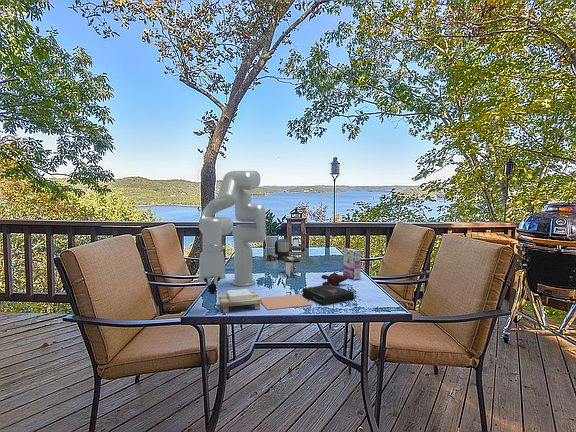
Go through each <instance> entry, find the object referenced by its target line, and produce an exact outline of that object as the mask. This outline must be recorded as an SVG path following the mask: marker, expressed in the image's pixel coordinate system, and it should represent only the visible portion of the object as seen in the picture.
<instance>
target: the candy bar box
mask: <svg viewBox="0 0 576 432" xmlns="http://www.w3.org/2000/svg"><path fill="white" fill-rule="evenodd" d="M342 260H343V263H342V264H343V266H342V267H343V268H342V270H343V271H342V273H343V275H342V276H347V277H349V279H350V280H353V281H356V280H357V281H358V280H361V271H362V269H361V268H362V265H361V264H362V251H361V250H359V249H356V248H355V249H354V248H349V247H348V248H343V259H342Z"/></svg>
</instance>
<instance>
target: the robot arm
mask: <svg viewBox="0 0 576 432" xmlns="http://www.w3.org/2000/svg"><path fill="white" fill-rule="evenodd" d="M261 179H262V178H261V174H260V173H259V172H258V171H257V170H232V171H228V172H226V173H225V174H224V176H223V179H222V181H221V185H220V188H219V191H218V195H217V197H215V198H214V199H212V200H210V202H209V203H207V205H206V206H204V208H203V210H202V212H201V215H200V218H199V224H198V230H199V231H200V233H201V234H202V251H201V252H200V253H199V260H198V261H199V262H198V263H199V265H198V273H199V275H198V280H199V281H202V282H205V283H206V284H207V288H208V289H207V292H208V293H209V294H210V296H211V295H215V293H216V292H217V285H218V283H219V282H220V281H221V280H224V279H226V263H225V262H226V261H225V255H224V251H223V250H225V249H226V245H223V244H222V243H223V242H222V236H228V235H230V234H231V233H232V238H233V246H234V254H233V255H234V257H233V258H234V263H233V264H234V265H233V266H234V269H233V270H234V279H233V280H231V284H232V285H233V286H237V287H247V286H254V285H255V284H256V280H255V279H253V248H252V246H251V245H250V243H256V244H260V243H261V244H262V243H263V242H264V241H265V240H266V236H267V233H266V232H267V231H266V230H267V229H266V227H267V226H266V225H267V224H266V223H267V222H266V216H267V215H266V209H265V207H264V205H262V204H260V203H252V195H251V192H250V191H251V190H254V189H257V188H258V187H259V186H260V185H261ZM233 206H234V215H235V216H234V217H235V219H236V221H237V222H242V223H243V224H236V225H235V226H234V223H233V220H232V219H230V218H229V217H225V216H222V217H219V216H214V215H216V214H217V213H219V212H222V211H224V210H226V209H230V208H232V207H233ZM244 223H246V224H244ZM247 223H248V224H247ZM249 223H255V224H249ZM211 278H213V281H211Z"/></svg>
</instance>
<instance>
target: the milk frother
mask: <svg viewBox="0 0 576 432" xmlns="http://www.w3.org/2000/svg"><path fill="white" fill-rule="evenodd" d="M275 255H277V257H276V256H275ZM282 256H290V239H288V238H278V239H277V240H276V241H274V255H272V254H267V255H266V258H267V260H269V261H276V260H278V261H284V260H283V259H282Z"/></svg>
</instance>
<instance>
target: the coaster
mask: <svg viewBox="0 0 576 432" xmlns="http://www.w3.org/2000/svg"><path fill="white" fill-rule="evenodd" d="M251 292H252V291H250V290H249V288H244V289H243V288H241V289H232V290H231V289H230V290H227V292H226V294H227V296H228V298H229V300H230V301H241V300H251V299H252V293H251Z"/></svg>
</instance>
